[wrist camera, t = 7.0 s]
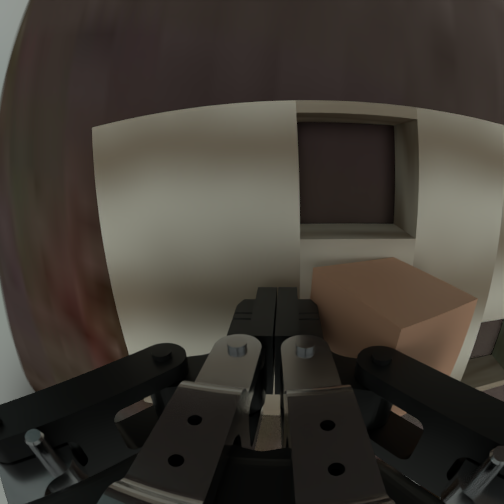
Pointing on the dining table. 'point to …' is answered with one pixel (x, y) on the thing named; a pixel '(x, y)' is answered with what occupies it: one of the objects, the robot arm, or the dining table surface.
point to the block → (392, 311)
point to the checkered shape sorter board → (288, 217)
